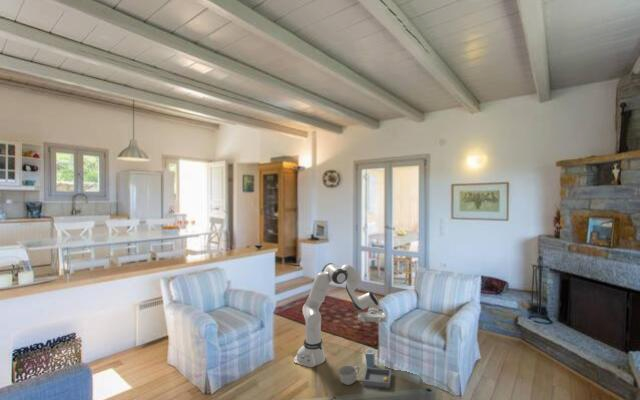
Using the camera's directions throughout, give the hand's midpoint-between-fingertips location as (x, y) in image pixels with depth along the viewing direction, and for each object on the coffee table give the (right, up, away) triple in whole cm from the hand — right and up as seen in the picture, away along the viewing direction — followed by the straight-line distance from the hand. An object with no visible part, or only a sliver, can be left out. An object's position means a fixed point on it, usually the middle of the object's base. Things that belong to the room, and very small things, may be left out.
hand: (370, 322), depth 223 cm
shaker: (-1, -26, -10) cm, 28 cm away
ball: (+4, -24, -29) cm, 38 cm away
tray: (0, -27, -25) cm, 37 cm away
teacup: (-17, -28, -24) cm, 40 cm away
